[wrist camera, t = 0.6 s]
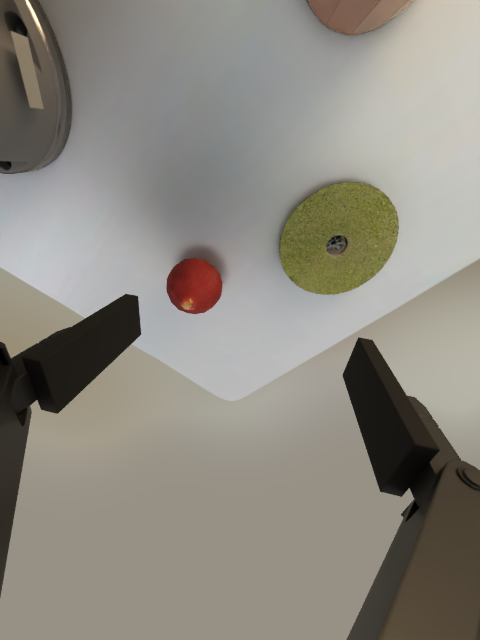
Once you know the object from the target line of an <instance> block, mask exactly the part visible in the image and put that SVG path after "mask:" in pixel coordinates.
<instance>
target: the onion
mask: <svg viewBox="0 0 480 640" xmlns="http://www.w3.org/2000/svg"><path fill="white" fill-rule="evenodd" d="M221 292H222V280H221V277H220V274H219V273H218V272H217V270H216V269H215V268H214V266H212V265H211V264H209V263H208V262H206V261H205V260H201V259H197V258H191V259H185V260H183V261H181V262H180V263H178V264H177V265H176V266H174V267H173V269H172V270H171V272H170V274H169V275H168V278H167V293H168V295H169V298H170V300H171V302H172V303H173V304H174V305H175V306H176V307H177V308H178V309H179V310H181V311H184V312H186V313H191V314H198V313H204V312H206V311H207V310H209V309H211V308H212V307H213V306H214V305H215V304H216V303H217V301H218V300H219V299H220V297H221Z"/></svg>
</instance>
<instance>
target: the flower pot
mask: <svg viewBox="0 0 480 640" xmlns="http://www.w3.org/2000/svg"><path fill="white" fill-rule="evenodd" d="M307 1H308V4H309V6H310V7H311V9H312V11H313V12H314V14H315V15H316V16H317V17H318V19H319V20H320V21H321V22H322V23H323V24H325V25H326V26H327V27H328V28H330V29H332V30H334V31H336V32H339V33H342V34H349V35H356V34H363V33H366V32H369V31H372V30H374V29H376V28H379V27H381V26H382V25H384V24H385V23H387V22H388V21H390V20H391V19H392V18H394V17H395V16H396V15H397V14H399V13H400V12H401V11H403V10H404V9H405V8H407V7H408V6H409V5H410V4H412V3H413V2H414V1H415V0H307Z"/></svg>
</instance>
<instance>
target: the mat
mask: <svg viewBox="0 0 480 640" xmlns="http://www.w3.org/2000/svg"><path fill="white" fill-rule="evenodd" d="M398 229H399V226H398V217H397V212H396V211H395V207H394V205H393V204H392V202H391V201H390V199H389V198H388V197H387V196H386V195H385V194H384V193H382V192H381V191H380V190H379V189H377V188H375V187H374V186H371V185H368V184H364V183H359V182H345V183H339V184H335V185H331V186H328V187H325V188H324V189H321V190H320V191H318V192H316V193H315V194H313V195H312V196H310V197H309V198H307V199H306V200H305V201H304V202H303V203H302V204H300V205H299V206H298V208H296V209H295V211H294V212H293V214H292V215H291V216H290V218H289V219H288V221H287V224H286V226H285V228H284V230H283V233H282V237H281V239H280V240H281V242H280V248H279V249H280V259H281V263H282V267H283V268H284V271H285V273H286V274H287V276H288V277H289V278H290V279H291V281H292V282H294V283H295V284H296V285H297V286H299V287H300V288H303V289H304V290H306V291H309V292H311V293H316V294H324V295H325V294H338V293H342V292H346V291H349V290H352V289H355V288H357V287H359V286H361V285H362V284H364V283H365V282H367V281H368V280H370V279H371V278H372V277H374V276H375V275H376V273H378V272H379V271H380V270H381V269H382V267H383V266H384V265H385V264H386V262H387V261H388V259H389V258H390V256H391V254H392V252H393V250H394V247H395V244H396V242H397V236H398V235H397V234H398V233H399V232H398Z"/></svg>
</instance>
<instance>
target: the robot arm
mask: <svg viewBox="0 0 480 640" xmlns="http://www.w3.org/2000/svg"><path fill="white" fill-rule="evenodd" d="M70 118H71V101H70V91H69V85H68V79H67V74H66V70H65V66H64V62H63V59H62V56H61V52H60V49H59V47H58V44H57V41H56V38H55V36H54V33H53V31H52V29H51V26H50V24H49V22H48V20H47V18H46V16H45V14H44V12H43V10H42V7H41V5H40V4H39V2H38V0H0V173H4V174H14V173H22V172H29V171H34V170H38V169H41V168H43V167H45V166H47V165H48V164H50V163H51V162H52V161H54V160H55V159H56V157H57V156H58V155H59V154H60V152H61V150H62V149H63V147H64V145H65V142H66V140H67V136H68V133H69V127H70ZM140 335H141V328H140V316H139V303H138V296H134V295H129V294H125V295H124V296H122V297H120V298H119V299H117V300H115V301H114V302H112V303H110V304H109V305H107V306H105V307H104V308H102V309H100V310H99V311H97V312H95V313H94V314H92V315H90V316H89V317H87V318H86V319H84V320H82V321H81V322H79V323H77V324H76V325H74V326H72V327H69V328H66V329H63V330H60V331H57V332H55V333H54V334H52V335H50V336H49V337H47V339H46V338H45V339H43V340H42V341H40V342H39V343H37V344H35V345H33V346H32V347H30V348H28V349H26V350H25V351H23V352H21V353H20V354H18V355H16V356H14V357H13V358H10V356H9V353H8V351H7V348H6V346H5V344H4V343H2V342H0V595H1V590H2V584H3V578H4V572H5V566H6V560H7V554H8V548H9V542H10V537H11V531H12V525H13V519H14V513H15V507H16V501H17V495H18V489H19V484H20V478H21V472H22V466H23V460H24V454H25V448H26V442H27V436H28V430H29V424H30V418H31V413H32V412H31V408H30V405H31V404H32V403H34V402H35V401H36V400H38V403H39V405H40V408H41V410H45V411H49V412H53V413H59V412H60V411H61V410H62V409H63V408H64V407H65V406H66V405H67V404H68V403H69V402H70V401H72V400H73V399H74V398H75V397H76V396H77V395H78V394H79V393H80V392H81V391H82V390H83V389H84V388H85V387H86V386H87V385H88V384H89V383H90V382H92V380H94V379H95V378H96V377H97V376H98V375H99V374H100V373H101V372H102V371H103V370H104V369H105V368H106V367H107V366H108V365H109V364H110V363H112V362H113V360H115V359H116V358H117V357H118V356H119V355H120V354H121V353H122V352H123V351H124V350H125V349H126V348H127V347H128V346H129V345H131V344H132V343H133V342H134V341H135V340H136V339H137V338H138V337H139V336H140ZM343 378H344V381H345V384H346V388H347V390H348V393H349V397H350V400H351V403H352V406H353V409H354V412H355V415H356V418H357V421H358V424H359V428H360V430H361V433H362V437H363V440H364V443H365V446H366V449H367V452H368V455H369V458H370V461H371V464H372V467H373V471H374V474H375V477H376V480H377V483H378V486H379V489H380V492H385V493H389V494H393V495H397V496H401V497H402V496H403V494H404V493H405V492H406V491H407V490H408V488H410V490H411V492H412V494H413V497H414V500H413V502H412V503H411V504H410V505H409V506H408V507H407V508H406V509H405V511H404V512H403V513H402V514H401V515H402V516H403V517H404V518H403V521H402V523H401V525H400V527H399V529H398V531H397V534H396V535H395V538H394V540H393V542H392V544H391V546H390V548H389V550H388V552H387V555H386V557H385V559H384V561H383V563H382V566H381V567H380V570H379V572H378V574H377V576H376V578H375V580H374V583H373V585H372V587H371V589H370V591H369V593H368V595H367V597H366V599H365V602H364V604H363V606H362V608H361V610H360V612H359V615H358V617H357V619H356V621H355V623H354V625H353V627H352V630H351V631H350V634H349V636H348V638H347V640H480V470H478V469H477V468H476V467H474V466H472V465H470V464H468V463H467V462H464V461H461V459H460V458H459V456H458V455H457V453H456V452H455V450H454V449H453V447H452V446H451V444H450V443H449V441H448V440H447V438H446V437H445V435H444V434H443V432H442V431H441V429H439V428H438V425H437V423H436V422H435V421H434V420H433V419H432V416H431V415H430V413H429V412H428V410H427V409H426V407H425V406H424V405H423V404H422V403H420V402H419V401H418V400H417V399H416V398H415V397H411V396H407V395H406V394H405V392H404V391H403V389H402V387H401V386H400V384H399V382H398V381H397V379H396V378H395V376H394V375H393V373H392V371H391V369H390V368H389V366H388V365H387V363H386V361H385V360H384V358H383V356H382V355H381V353H380V352H379V350H378V348H377V347H376V345H375V344H374V342H373V340H369V339H364V338H358V340H357V342H356V345H355V347H354V349H353V351H352V354H351V356H350V359H349V361H348V363H347V366H346V368H345V371H344V373H343Z"/></svg>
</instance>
